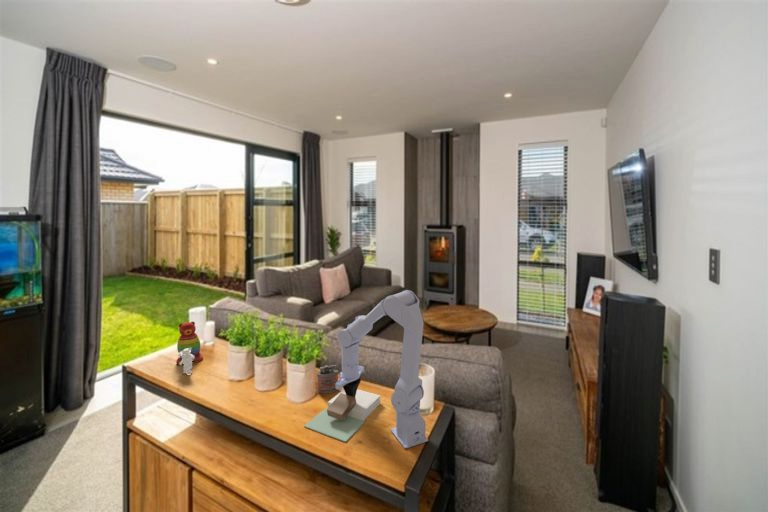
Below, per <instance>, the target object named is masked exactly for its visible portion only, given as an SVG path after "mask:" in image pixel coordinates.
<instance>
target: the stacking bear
mask: <svg viewBox="0 0 768 512" xmlns="http://www.w3.org/2000/svg"><path fill="white" fill-rule="evenodd" d="M196 328H197V327H196V323H195V321H190V322H188V321H187V322H183V323H180V324H178V331H179V334H180V336H179V338H178V340H177V346H176V348H177V352H178V354H179V353H180V352H181V351H182V352H183V350H184V349H186V348H191V352H190V353H191V354H192V355H193V356H195V358H194V360H193V359H192V360H193V361H199V362H201V361H200V360H202V359H203V360H204V356H203V354H202V353H201V352H200V351H201V340H200V338H199V336H198V333H196ZM189 350H190V349H189ZM179 357H180V356H179ZM181 360H182V358H181V357H180V358H177V359H176V363H177V364H179V363H180V362H181ZM203 360H202V361H203ZM177 364H176V365H177ZM182 364H183V363H182ZM183 365H184V364H183Z"/></svg>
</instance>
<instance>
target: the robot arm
mask: <svg viewBox="0 0 768 512" xmlns="http://www.w3.org/2000/svg"><path fill="white" fill-rule="evenodd" d="M421 312H422V311H421V309H420V298H418V296H417V295H416V293H415V292H413V291H412V290H409V289H404V290H402V291H401V292H398V293H395V294H391V295H388V296H386V297H385V298H384V299H382V300H380V302H378V303H377V305H376V306H375V307H373V309H371V310H370V312H368V313H367V314H366V315H365V314H364V315H357V316H356V317H355V318H354V320H353V322H351V323H348V324H347V325H346V326H347V327H346V328H343V329H340V330H339V331H338V333H337V337H336V338H337V342H338V344H339V345H340V347H341V348H340V349H341V350H340V351H341V371H340V372H339V376H340V377H338V382H337V383H335V386H336V389H338V391H342V390H344V391H345V393H346V395H349V396H352V397H355V396H356V392H357V389H358V388H359V386H360V383H361V378H360V376H361V374H364V373H365V366H362V365H359V364H360V363H359V362H360V361H359V347H360V342H361V341H362V339H363V337H365V336H366V335H367V334H368V333H369V332H371V331H372V330H373V326H374V324H375V323H376V322H377V321H378V320H380V319H381V318H382V317H384V316H388V317H390V318H391V319H392V320H393V321H394V322H396V323H397V324H398V325H400V326H401V327H403V340H402V351H401V361H400V373H399V379H397V382H396V384H395V386H394V391H393V393H392V394H391V397H390V401H391V402H390V403H391V404H392V407H393V409H395V410H394V411H395V427H392V428H391V429H390V431H391V433H392V434H393V435H394V436H395V439H396V440H397V441H398V442H399V443H400V445H401V446H402V447H403V449H409V448H411V447H415V446H418V445H421V444H424V443H426V442H428V441H429V439H428V437H427V436H426V429H427V428H426V421H425V419H424V417H423V415H422V414H421V406H420V405H421V400H422V399H423V398H424V395H425V390H424V388H423V379H422V378H420V377H419V374H420V364H421V356H422V355H421V354H422V345H423V333H424V319H423V315H422V313H421Z"/></svg>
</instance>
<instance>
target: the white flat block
mask: <svg viewBox="0 0 768 512" xmlns="http://www.w3.org/2000/svg"><path fill="white" fill-rule="evenodd" d="M340 393H342V394H346V393H345V391H344V389H342V390H340V392H338V393H337V394H336V395H335V396H333V397H332V398H331V399H329V401H328V402H327V408H328V407H329V406H330V405H331V404H332V403H333V402H334V400H335V399H336V398H337V397H338V396H339V395H340ZM355 398H356V405H355V406H354V407H353V409H352V410H351V411H350V412H349V414H348V415H347V416H350V417H353V418H356V419H360V420H363V421H365V420H366V419H367V418H369V416H370V415H371V414H372V413H373V412H374V411H375V410H376V408H377V407H378V406H379V405H381V395H380V394H376V393H372V392H369V391H365V390H361V389H358V388H357V392H356V396H355Z"/></svg>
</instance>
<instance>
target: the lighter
mask: <svg viewBox="0 0 768 512" xmlns="http://www.w3.org/2000/svg"><path fill="white" fill-rule="evenodd" d="M316 376H317V394H319V393H324V394H331V392H332V393H335V391H336V392H339V390H338V389H336V386H335V383H337V382H338V380H339V370H338V369H337V364H332V365H327V364H325V365H324V366H320V367H319V371H318V372H317V373H316Z"/></svg>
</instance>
